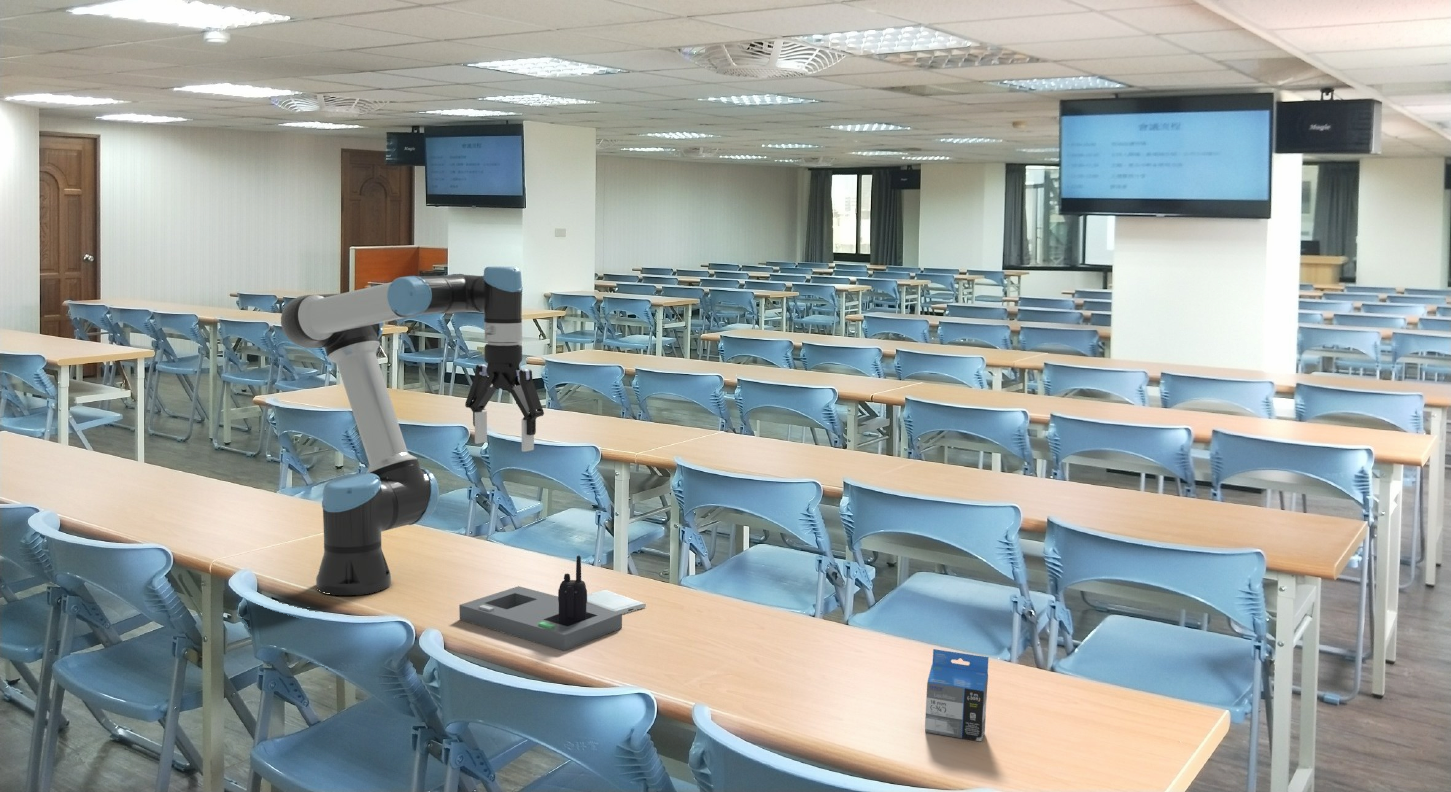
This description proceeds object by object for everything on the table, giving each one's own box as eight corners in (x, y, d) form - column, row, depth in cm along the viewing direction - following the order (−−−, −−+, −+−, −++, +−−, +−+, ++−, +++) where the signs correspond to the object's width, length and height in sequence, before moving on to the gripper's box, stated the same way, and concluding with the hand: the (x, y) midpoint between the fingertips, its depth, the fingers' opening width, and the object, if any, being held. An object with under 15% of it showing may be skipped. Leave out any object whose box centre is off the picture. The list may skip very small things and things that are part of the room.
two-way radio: (588, 629, 230) (588, 553, 228) (584, 637, 226) (584, 560, 224) (560, 628, 230) (560, 552, 228) (555, 636, 226) (555, 559, 224)
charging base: (459, 619, 235) (459, 602, 234) (518, 600, 247) (518, 584, 247) (564, 650, 218) (564, 632, 218) (622, 628, 231) (622, 611, 231)
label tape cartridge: (923, 733, 186) (926, 656, 184) (928, 723, 189) (931, 648, 187) (981, 742, 182) (985, 665, 181) (985, 733, 186) (989, 656, 184)
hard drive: (575, 597, 247) (615, 610, 238) (606, 589, 253) (646, 602, 244) (575, 604, 247) (615, 618, 239) (606, 596, 253) (646, 610, 244)
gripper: (447, 340, 247) (448, 441, 250) (534, 349, 232) (534, 456, 235) (474, 338, 253) (475, 437, 256) (561, 346, 238) (561, 451, 241)
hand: (504, 446), depth 245 cm, fingers open, 13 cm apart
